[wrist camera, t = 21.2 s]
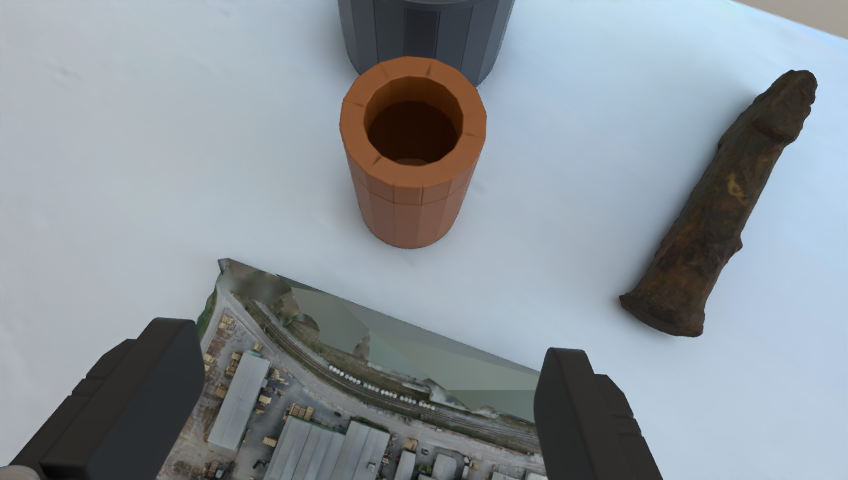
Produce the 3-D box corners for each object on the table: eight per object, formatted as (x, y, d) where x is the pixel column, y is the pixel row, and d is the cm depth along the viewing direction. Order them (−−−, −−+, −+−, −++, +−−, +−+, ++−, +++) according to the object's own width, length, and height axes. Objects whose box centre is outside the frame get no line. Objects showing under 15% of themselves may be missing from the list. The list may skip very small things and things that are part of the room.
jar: (354, 244, 28) (331, 180, 19) (365, 152, 30) (348, 49, 20) (455, 253, 29) (483, 194, 19) (460, 160, 30) (489, 63, 21)
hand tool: (665, 345, 28) (717, 341, 23) (608, 304, 28) (648, 292, 24) (798, 120, 32) (863, 80, 28) (747, 87, 33) (803, 43, 28)
